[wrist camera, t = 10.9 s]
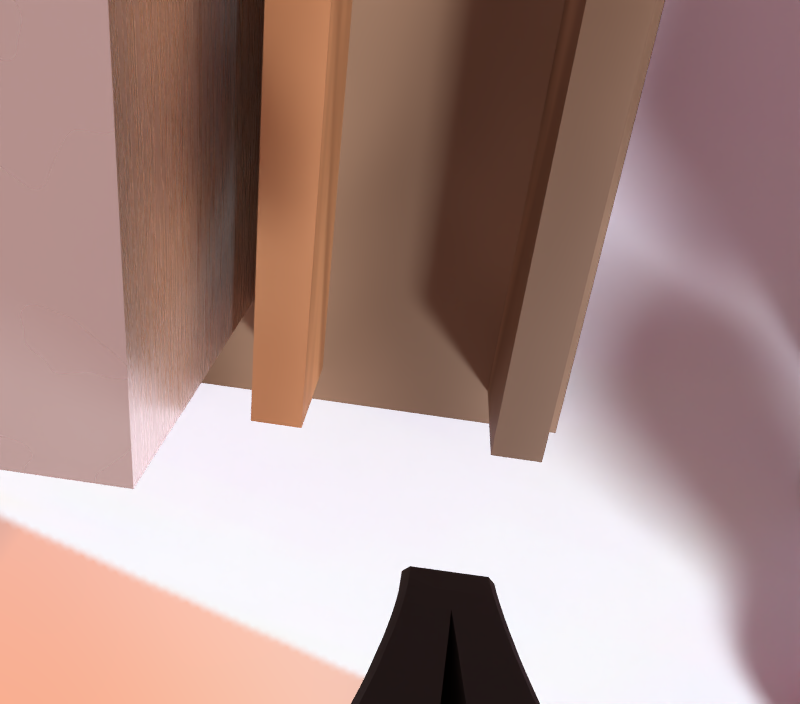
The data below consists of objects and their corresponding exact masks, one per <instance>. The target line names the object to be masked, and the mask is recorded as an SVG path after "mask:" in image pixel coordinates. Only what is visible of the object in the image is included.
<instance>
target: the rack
mask: <svg viewBox="0 0 800 704" xmlns="http://www.w3.org/2000/svg"><path fill="white" fill-rule="evenodd" d="M664 2H665V0H263V13H262V43H261V73H260V103H259V133H258V163H257V194H256V224H255V254H254V284H253V302H252V303H251V305H250V307H249V308H248V310H247V311H246V313H245V314H244V316H243V318H242V319H241V321H240V322H239V324H238V325H237V327H236V329H235V330H234V332H233V333H232V335H231V336H230V338H229V340H228V341H227V343H226V344H225V346H224V347H223V349H222V351H221V352H220V354H219V355H218V357H217V358H216V360H215V362H214V363H213V365H212V366H211V368H210V369H209V371H208V373H207V374H206V376H205V377H204V379H203V380H202V382H201V383H208V384H215V385H222V386H229V387H236V388H243V389H250V390H252V404H251V421H257V422H264V423H271V424H278V425H285V426H292V427H299V428H301V427H302V424H303V422H304V419H305V416H306V413H307V410H308V408H309V405H310V402H311V399H312V398H313V399H320V400H327V401H334V402H341V403H348V404H355V405H362V406H370V407H377V408H384V409H391V410H398V411H405V412H412V413H419V414H426V415H433V416H440V417H447V418H454V419H461V420H468V421H475V422H482V423H489V427H490V446H491V455H495V456H502V457H509V458H516V459H523V460H530V461H537V462H542V459H543V455H544V451H545V447H546V443H547V439H548V435H549V432H552V433H555V432H556V428H557V424H558V420H559V416H560V413H561V409H562V405H563V401H564V397H565V393H566V389H567V385H568V381H569V377H570V373H571V369H572V365H573V361H574V357H575V353H576V349H577V346H578V342H579V338H580V334H581V330H582V326H583V322H584V318H585V314H586V310H587V306H588V302H589V298H590V294H591V290H592V286H593V282H594V278H595V275H596V271H597V267H598V263H599V259H600V255H601V251H602V247H603V243H604V239H605V235H606V231H607V227H608V223H609V219H610V215H611V211H612V207H613V204H614V200H615V196H616V192H617V188H618V184H619V180H620V176H621V172H622V168H623V164H624V160H625V156H626V152H627V148H628V144H629V140H630V137H631V133H632V129H633V125H634V121H635V117H636V113H637V109H638V105H639V101H640V97H641V93H642V89H643V85H644V81H645V77H646V73H647V69H648V66H649V62H650V58H651V54H652V50H653V46H654V42H655V38H656V34H657V30H658V26H659V22H660V18H661V14H662V10H663V6H664Z"/></svg>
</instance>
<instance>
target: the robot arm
mask: <svg viewBox="0 0 800 704" xmlns="http://www.w3.org/2000/svg"><path fill="white" fill-rule="evenodd" d="M351 704H540V703H539V701H538V699H537V696H536V694H535V692H534V690H533V687H532V685H531V683H530V681H529V678H528V676H527V674H526V672H525V669H524V667H523V665H522V662H521V660H520V657H519V655H518V653H517V650H516V647H515V645H514V642H513V640H512V637H511V634H510V632H509V629H508V626H507V624H506V621H505V618H504V615H503V612H502V609H501V606H500V603H499V600H498V596H497V593H496V589H495V585H494V583H493V582H492V581H491V580H490V578H489V577H483V576H476V575H469V574H462V573H454V572H447V571H440V570H433V569H426V568H418V567H411V566H410V567H408V568H406V569H405V570H403V571H402V574H401V580H400V586H399V592H398V596H397V599H396V603H395V606H394V609H393V612H392V615H391V618H390V620H389V623H388V626H387V628H386V631H385V634H384V636H383V638H382V641H381V643H380V645H379V647H378V650H377V652H376V654H375V656H374V659H373V661H372V663H371V665H370V668H369V670H368V672H367V674H366V676H365V678H364V680H363V682H362V684H361V686H360V688H359V690H358V692H357V694H356V695H355V697H354V699H353V701H352V703H351Z"/></svg>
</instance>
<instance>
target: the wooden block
mask: <svg viewBox="0 0 800 704" xmlns="http://www.w3.org/2000/svg"><path fill="white" fill-rule="evenodd" d="M262 13H263V0H0V470H7V471H14V472H21V473H28V474H35V475H42V476H48V477H55V478H62V479H69V480H76V481H83V482H90V483H96V484H103V485H110V486H117V487H124V488H131V489H134V487H135V486H136V484H137V483H138V481H139V479H140V478H141V476H142V475H143V473H144V472H145V470H146V468H147V467H148V465H149V464H150V462H151V461H152V459H153V457H154V456H155V454H156V453H157V451H158V450H159V448H160V446H161V445H162V443H163V442H164V440H165V439H166V437H167V435H168V434H169V432H170V431H171V429H172V428H173V426H174V424H175V423H176V421H177V420H178V418H179V417H180V415H181V413H182V412H183V410H184V409H185V407H186V406H187V404H188V402H189V401H190V399H191V398H192V396H193V395H194V393H195V391H196V390H197V388H198V387H199V385H200V384H201V382H202V380H203V379H204V377H205V376H206V374H207V373H208V371H209V369H210V368H211V366H212V365H213V363H214V362H215V360H216V358H217V357H218V355H219V354H220V352H221V351H222V349H223V347H224V346H225V344H226V343H227V341H228V340H229V338H230V336H231V335H232V333H233V332H234V330H235V329H236V327H237V325H238V324H239V322H240V321H241V319H242V318H243V316H244V314H245V313H246V311H247V310H248V308H249V307H250V305H251V303H252V302H253V284H254V254H255V224H256V194H257V163H258V133H259V103H260V73H261V43H262Z"/></svg>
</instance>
